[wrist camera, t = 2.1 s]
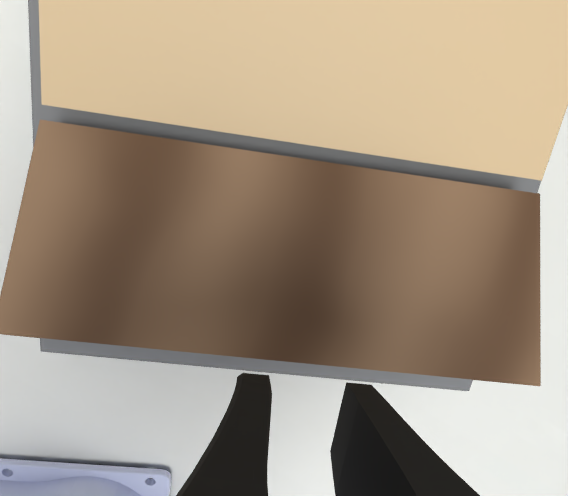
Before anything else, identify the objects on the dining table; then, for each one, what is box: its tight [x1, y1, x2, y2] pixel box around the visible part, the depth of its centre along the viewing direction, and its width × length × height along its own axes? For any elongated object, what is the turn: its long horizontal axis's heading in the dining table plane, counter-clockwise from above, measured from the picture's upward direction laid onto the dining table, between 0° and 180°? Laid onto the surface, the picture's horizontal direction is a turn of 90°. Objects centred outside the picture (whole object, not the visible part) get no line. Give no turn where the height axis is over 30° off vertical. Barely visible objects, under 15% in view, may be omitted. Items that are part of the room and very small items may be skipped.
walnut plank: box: [0, 120, 540, 386], centre depth 15 cm, size 18×7×1 cm, turn 81°
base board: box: [28, 0, 568, 391], centre depth 16 cm, size 20×18×2 cm
